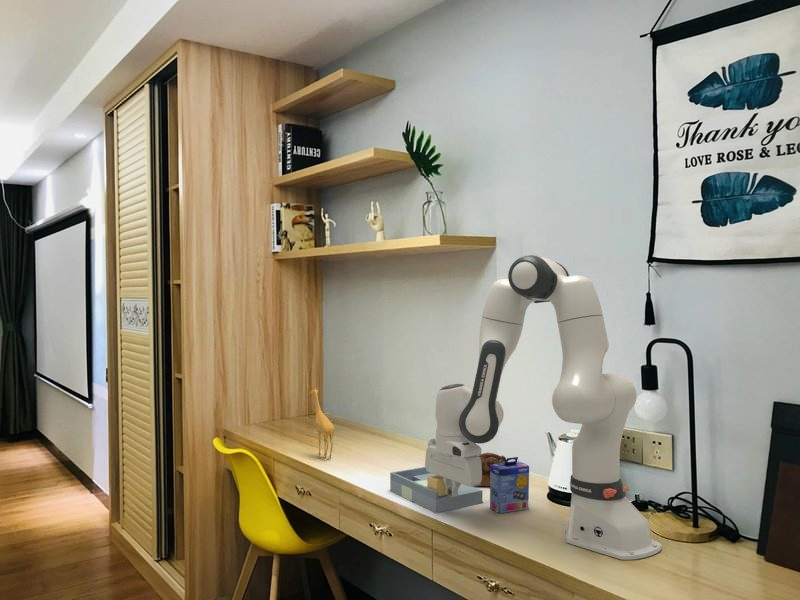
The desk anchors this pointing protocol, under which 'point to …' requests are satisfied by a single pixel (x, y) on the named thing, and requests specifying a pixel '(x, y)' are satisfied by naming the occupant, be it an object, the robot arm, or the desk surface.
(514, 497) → the ink cartridge box
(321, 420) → the giraffe
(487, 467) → the wooden carving
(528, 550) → the desk surface
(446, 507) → the tray
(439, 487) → the block
